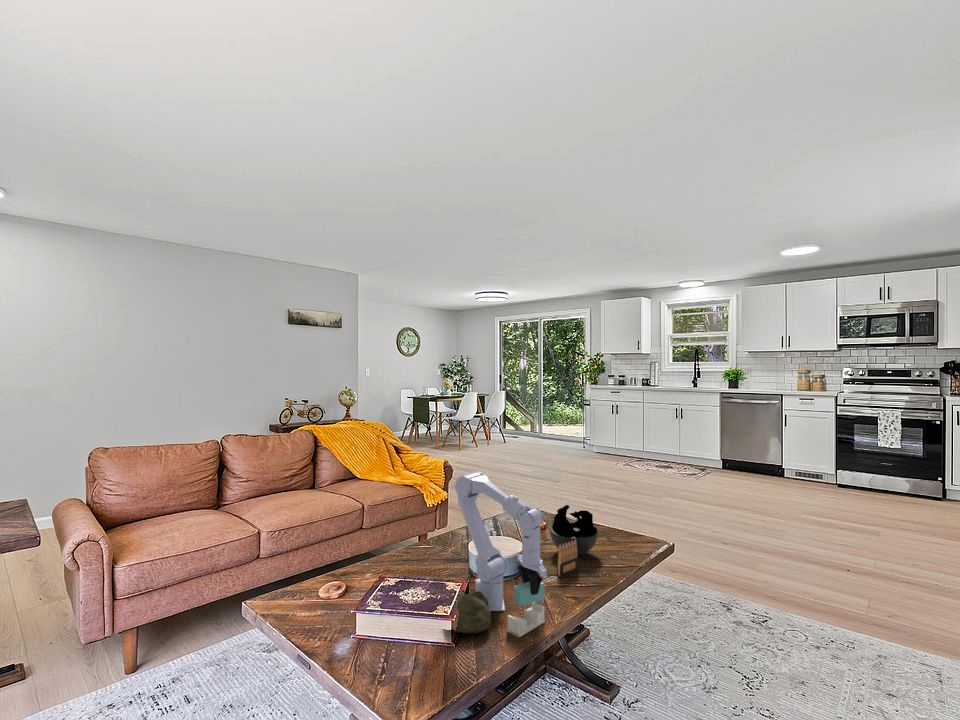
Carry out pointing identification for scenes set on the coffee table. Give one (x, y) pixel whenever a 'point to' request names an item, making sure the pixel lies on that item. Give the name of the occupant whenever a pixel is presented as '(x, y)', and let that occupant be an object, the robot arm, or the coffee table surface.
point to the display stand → (526, 620)
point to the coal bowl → (574, 530)
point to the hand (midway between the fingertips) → (531, 591)
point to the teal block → (527, 594)
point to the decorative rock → (473, 613)
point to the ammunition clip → (567, 559)
